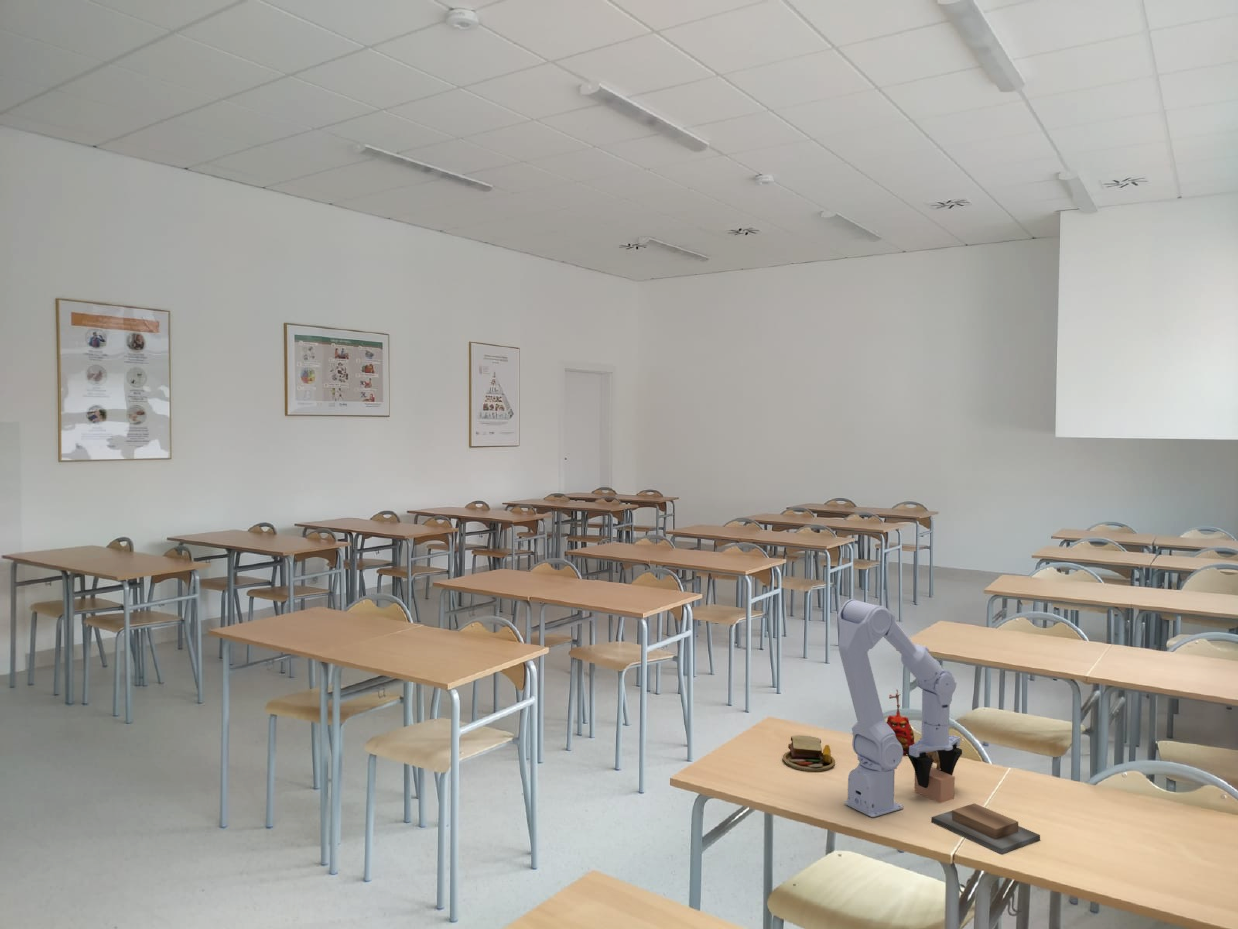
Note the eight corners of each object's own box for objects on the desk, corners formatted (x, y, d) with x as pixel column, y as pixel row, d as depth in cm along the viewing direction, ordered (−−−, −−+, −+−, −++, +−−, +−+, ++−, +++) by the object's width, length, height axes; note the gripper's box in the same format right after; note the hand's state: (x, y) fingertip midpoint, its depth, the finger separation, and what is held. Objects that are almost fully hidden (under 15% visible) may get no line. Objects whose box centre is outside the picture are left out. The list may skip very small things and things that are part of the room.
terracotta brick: (940, 803, 183) (940, 780, 183) (914, 792, 189) (914, 769, 189) (954, 799, 186) (954, 776, 186) (927, 788, 192) (928, 766, 192)
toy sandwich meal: (780, 770, 202) (780, 750, 202) (784, 751, 215) (785, 732, 215) (834, 776, 198) (835, 756, 198) (835, 756, 211) (836, 737, 211)
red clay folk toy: (883, 754, 212) (884, 695, 212) (881, 745, 219) (882, 687, 219) (915, 757, 211) (916, 697, 210) (912, 748, 218) (913, 689, 217)
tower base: (1001, 854, 160) (1001, 838, 160) (931, 822, 174) (931, 807, 174) (1040, 840, 166) (1040, 825, 166) (969, 810, 180) (969, 795, 180)
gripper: (928, 732, 180) (927, 796, 180) (972, 721, 188) (971, 782, 188) (901, 723, 186) (901, 784, 186) (945, 713, 194) (944, 772, 194)
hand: (934, 783), depth 188 cm, fingers open, 7 cm apart
